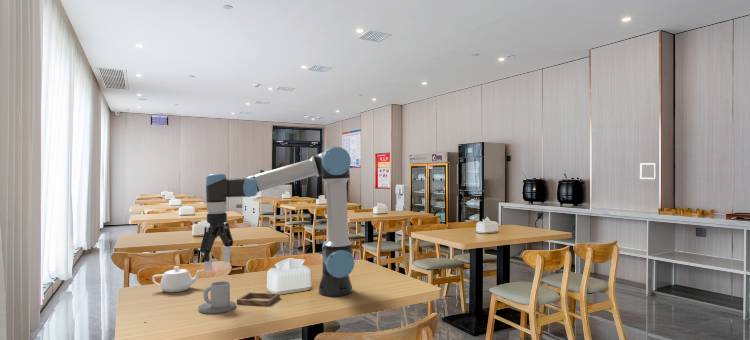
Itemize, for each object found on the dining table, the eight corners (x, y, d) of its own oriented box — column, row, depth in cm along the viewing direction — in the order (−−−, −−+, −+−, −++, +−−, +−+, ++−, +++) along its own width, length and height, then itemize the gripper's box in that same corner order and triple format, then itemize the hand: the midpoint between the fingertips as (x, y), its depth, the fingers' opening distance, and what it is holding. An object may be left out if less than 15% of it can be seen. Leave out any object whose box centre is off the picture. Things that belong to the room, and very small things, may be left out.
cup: (228, 308, 168) (228, 285, 168) (201, 309, 166) (201, 286, 167) (231, 302, 175) (231, 280, 175) (205, 304, 174) (205, 282, 174)
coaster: (241, 303, 177) (241, 301, 177) (223, 314, 163) (223, 312, 163) (211, 302, 180) (211, 299, 180) (190, 312, 166) (190, 310, 166)
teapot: (149, 295, 189) (149, 271, 189) (154, 288, 202) (154, 265, 202) (202, 291, 196) (202, 267, 196) (204, 284, 209) (204, 261, 209)
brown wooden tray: (279, 298, 185) (279, 293, 185) (268, 305, 174) (268, 301, 174) (249, 296, 188) (249, 292, 188) (236, 304, 177) (236, 299, 177)
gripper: (224, 209, 185) (225, 259, 185) (189, 215, 160) (190, 272, 160) (240, 209, 183) (242, 259, 183) (207, 215, 159) (208, 273, 159)
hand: (217, 265), depth 172 cm, fingers open, 13 cm apart
